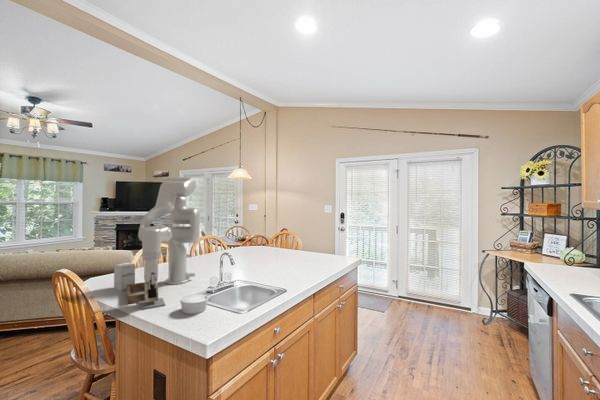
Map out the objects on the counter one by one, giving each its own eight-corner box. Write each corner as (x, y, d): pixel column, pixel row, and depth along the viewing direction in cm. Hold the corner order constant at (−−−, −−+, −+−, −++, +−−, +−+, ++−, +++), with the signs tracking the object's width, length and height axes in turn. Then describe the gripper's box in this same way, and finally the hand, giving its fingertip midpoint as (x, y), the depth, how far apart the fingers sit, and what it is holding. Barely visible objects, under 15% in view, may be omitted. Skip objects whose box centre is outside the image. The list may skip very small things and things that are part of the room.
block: (156, 297, 134) (157, 279, 134) (158, 300, 130) (158, 282, 130) (144, 299, 131) (144, 281, 131) (145, 302, 127) (145, 284, 127)
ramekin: (206, 314, 120) (206, 301, 120) (177, 316, 118) (178, 303, 118) (209, 304, 131) (209, 293, 131) (182, 306, 129) (182, 294, 128)
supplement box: (120, 290, 149) (120, 266, 149) (113, 288, 153) (113, 264, 153) (135, 287, 155) (135, 263, 155) (128, 284, 159) (128, 262, 159)
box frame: (153, 287, 155) (153, 281, 155) (158, 299, 137) (158, 291, 137) (126, 291, 148) (126, 284, 148) (127, 304, 131) (127, 296, 131)
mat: (162, 298, 138) (162, 297, 138) (165, 305, 129) (165, 304, 129) (138, 302, 132) (138, 301, 132) (139, 310, 124) (139, 308, 124)
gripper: (141, 253, 136) (141, 291, 136) (143, 260, 121) (143, 303, 121) (158, 251, 140) (158, 289, 140) (163, 258, 125) (163, 299, 125)
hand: (151, 295), depth 131 cm, fingers closed on block, 5 cm apart
